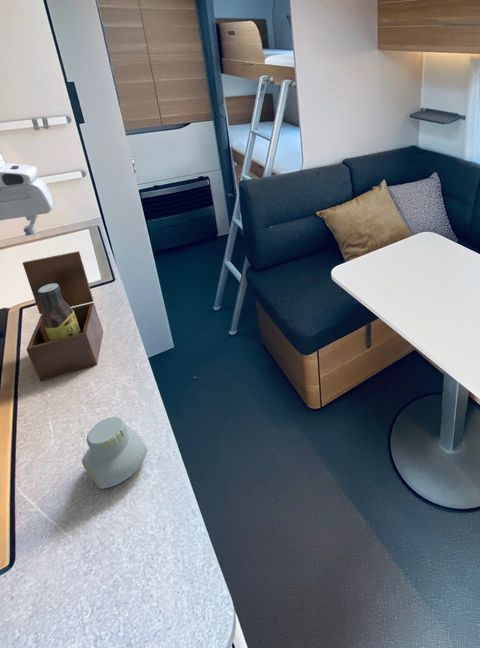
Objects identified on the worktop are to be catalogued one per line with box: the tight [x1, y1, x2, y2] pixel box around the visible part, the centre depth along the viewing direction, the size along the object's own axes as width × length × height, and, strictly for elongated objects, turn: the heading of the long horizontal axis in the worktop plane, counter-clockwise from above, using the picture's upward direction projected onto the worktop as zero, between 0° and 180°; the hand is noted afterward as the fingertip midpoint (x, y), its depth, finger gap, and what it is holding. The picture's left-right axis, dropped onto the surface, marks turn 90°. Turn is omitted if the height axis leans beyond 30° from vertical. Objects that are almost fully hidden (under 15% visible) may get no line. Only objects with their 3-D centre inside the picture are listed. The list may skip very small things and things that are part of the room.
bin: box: [25, 302, 104, 382], centre depth 103 cm, size 14×12×10 cm
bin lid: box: [22, 250, 94, 315], centre depth 107 cm, size 14×12×5 cm
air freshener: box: [81, 416, 148, 489], centre depth 76 cm, size 11×8×10 cm
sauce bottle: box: [38, 283, 81, 341], centre depth 101 cm, size 6×6×20 cm
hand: (3, 238), depth 87 cm, fingers open, 8 cm apart
